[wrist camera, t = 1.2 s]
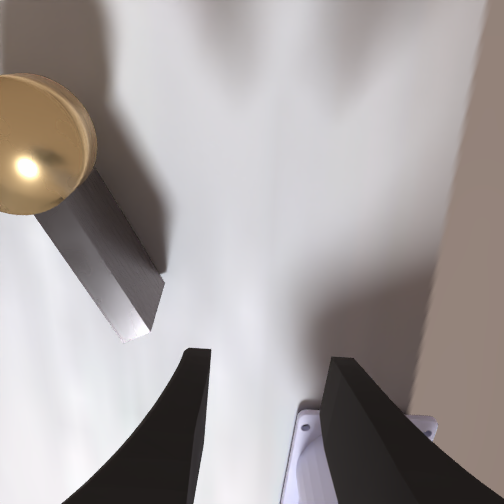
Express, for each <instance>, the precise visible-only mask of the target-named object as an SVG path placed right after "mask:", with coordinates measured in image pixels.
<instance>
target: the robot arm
mask: <svg viewBox="0 0 504 504" xmlns="http://www.w3.org/2000/svg"><path fill="white" fill-rule="evenodd" d="M210 360H211V349H200V348H188V349H186V350H185V351H184V353H183V356H182V358H181V361H180V363H179V365H178V367H177V369H176V371H175V372H174V374H173V376H172V378H171V380H170V381H169V383H168V384H167V386H166V388H165V389H164V391H163V392H162V394H161V395H160V397H159V398H158V400H157V401H156V403H155V404H154V406H153V407H152V408H151V410H150V411H149V412H148V414H147V415H146V416H145V418H144V419H143V421H142V422H141V423H140V424H139V426H138V427H137V428H136V429H135V431H134V432H133V433H132V434H131V436H130V437H129V438H128V439H127V440H126V441H125V443H124V444H123V445H122V446H121V447H120V448H119V449H118V450H117V452H116V453H115V454H114V455H113V456H112V457H111V458H110V459H109V460H108V461H107V462H106V463H105V464H104V465H103V466H102V467H101V468H100V469H99V470H98V471H97V472H96V473H95V474H94V475H93V476H92V477H91V478H90V479H89V480H88V481H87V482H86V483H85V484H84V485H83V486H81V487H80V488H79V489H78V490H77V491H76V492H75V493H73V494H72V495H71V496H70V497H69V498H68V499H66V500H65V501H64V502H63V503H62V504H193V502H194V497H195V491H196V485H197V480H198V474H199V468H200V462H201V457H202V451H203V445H204V435H205V422H206V410H207V398H208V385H209V373H210ZM304 424H308V425H307V426H302V425H304ZM437 428H438V423H437V421H436V419H435V418H434V417H432V416H421V415H404V414H403V413H402V411H401V410H400V409H399V408H398V407H397V406H396V405H395V404H394V403H393V402H392V401H391V400H390V399H389V398H388V396H387V395H386V394H385V393H384V392H383V391H382V390H381V389H380V388H379V386H378V385H377V384H376V383H375V382H374V381H373V380H372V379H371V377H370V376H369V375H368V374H367V373H366V372H365V371H364V369H363V368H362V367H361V366H360V365H359V364H358V363H357V362H356V360H355V359H354V358H344V357H331V362H330V366H329V371H328V376H327V380H326V385H325V389H324V394H323V399H322V403H321V408H320V410H309V409H307V410H302V411H301V412H299V413H298V416H297V420H296V426H295V431H294V436H293V441H292V447H291V452H290V457H289V462H288V467H287V473H286V478H285V483H284V488H283V494H282V499H281V504H504V499H503V498H502V497H501V496H499V495H498V494H496V493H495V492H494V491H492V490H491V489H490V488H488V487H487V486H485V485H484V484H483V483H481V482H480V481H479V480H478V479H476V478H475V477H474V476H472V475H471V474H469V473H468V472H467V471H466V470H465V469H464V468H462V467H461V466H460V465H459V464H458V463H456V462H455V461H454V460H453V459H452V458H450V457H449V456H448V455H447V454H446V453H444V452H443V451H442V450H441V449H440V448H439V447H438V446H437V445H435V444H434V443H433V439H434V436H435V433H436V430H437ZM425 431H426V432H425Z"/></svg>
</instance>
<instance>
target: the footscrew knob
mask: <svg viewBox="0 0 504 504" xmlns="http://www.w3.org/2000/svg"><path fill="white" fill-rule="evenodd" d="M96 156H97V137H96V132H95V128H94V125H93V123H92V120H91V118H90V116H89V114H88V112H87V111H86V109H85V108H84V106H83V105H82V104H81V102H80V101H79V100H78V99H77V98H76V97H75V96H74V95H73V94H72V93H71V92H70V91H69V90H67V89H66V88H65V87H63V86H62V85H60V84H59V83H57V82H55V81H53V80H51V79H49V78H46V77H43V76H40V75H36V74H30V73H16V74H7V75H0V212H4V213H8V214H15V215H32V214H34V216H35V217H36V219H37V220H38V222H39V223H40V224H41V226H42V227H43V229H44V230H45V232H46V233H47V234H48V236H49V237H50V239H51V240H52V242H53V243H54V244H55V246H56V247H57V249H58V250H59V252H60V253H61V254H62V256H63V257H64V259H65V260H66V262H67V263H68V264H69V266H70V267H71V269H72V270H73V272H74V273H75V275H76V276H77V277H78V279H79V280H80V282H81V283H82V285H83V286H84V287H85V289H86V290H87V292H88V293H89V295H90V296H91V297H92V299H93V300H94V302H95V303H96V305H97V306H98V307H99V309H100V310H101V312H102V313H103V315H104V316H105V318H106V319H107V320H108V322H109V323H110V325H111V326H112V328H113V329H114V330H115V332H116V333H117V335H118V336H119V338H120V339H121V340H122V342H123V343H125V342H128V341H130V340H133V339H135V338H138V337H140V336H142V335H145V334H147V333H150V332H151V329H152V325H153V322H154V318H155V315H156V312H157V308H158V305H159V301H160V298H161V295H162V291H163V288H164V284H165V282H164V281H163V279H162V277H161V276H160V274H159V272H158V271H157V269H156V267H155V266H154V264H153V263H152V261H151V259H150V258H149V256H148V254H147V253H146V251H145V249H144V248H143V246H142V244H141V243H140V241H139V239H138V238H137V236H136V234H135V233H134V231H133V230H132V228H131V226H130V225H129V223H128V221H127V220H126V218H125V216H124V215H123V213H122V211H121V210H120V208H119V206H118V205H117V203H116V201H115V200H114V198H113V197H112V195H111V193H110V192H109V190H108V188H107V187H106V185H105V183H104V182H103V180H102V178H101V177H100V175H99V173H98V172H97V170H96V169H93V167H94V164H95V161H96Z"/></svg>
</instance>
